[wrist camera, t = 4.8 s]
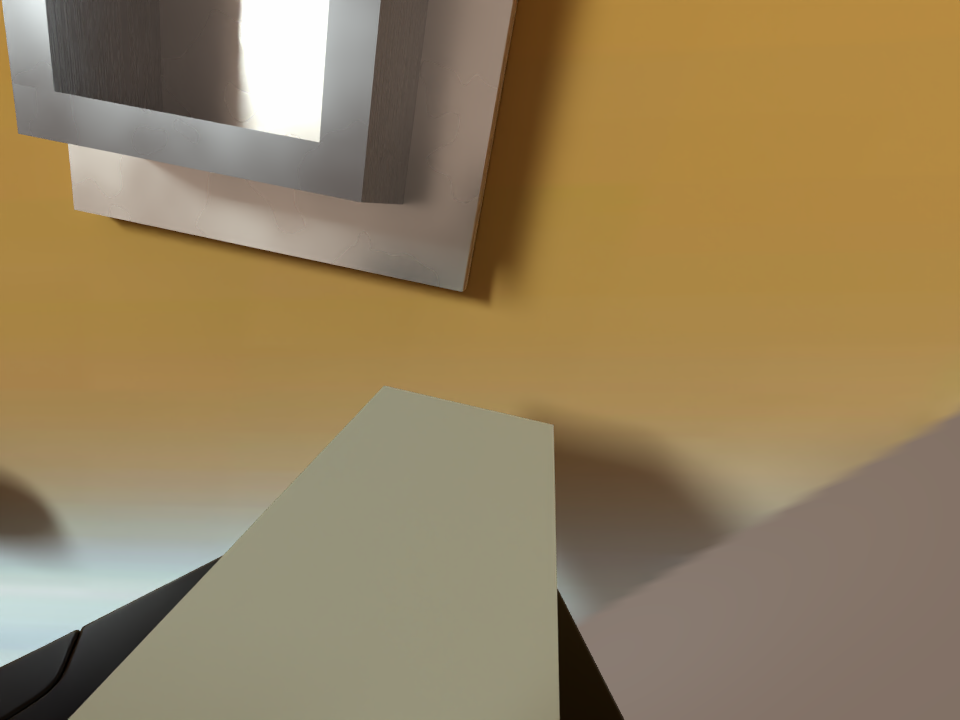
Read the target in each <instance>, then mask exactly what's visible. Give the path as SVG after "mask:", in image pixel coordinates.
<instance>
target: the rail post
mask: <svg viewBox="0 0 960 720" xmlns="http://www.w3.org/2000/svg"><path fill="white" fill-rule="evenodd" d="M68 720H560V713H559V663H558V614H557V565H556V516H555V467H554V425H552V424H548V423H543V422H539V421H535V420H530V419H526V418H522V417H517V416H513V415H509V414H505V413H500V412H496V411H492V410H487V409H483V408H479V407H474V406H470V405H466V404H461V403H457V402H453V401H448V400H444V399H440V398H436V397H431V396H427V395H423V394H418V393H414V392H410V391H405V390H401V389H397V388H392V387H388V386H383V387H382V388H381V389H380V391H379V392H378V393H377V394H376V395H375V396H374V397H373V398H372V399H371V400H370V401H369V402H368V403H367V404H366V405H365V406H364V407H363V408H362V410H361V411H360V412H359V413H358V414H357V415H356V416H355V417H354V418H353V419H352V420H351V421H350V422H349V423H348V424H347V425H346V426H345V427H344V429H343V430H342V431H341V432H340V433H339V434H338V435H337V436H336V437H335V438H334V439H333V440H332V441H331V442H330V443H329V444H328V445H327V446H326V448H325V449H324V450H323V451H322V452H321V453H320V454H319V455H318V456H317V457H316V458H315V459H314V460H313V461H312V462H311V463H310V464H309V465H308V467H307V468H306V469H305V470H304V471H303V472H302V473H301V474H300V475H299V476H298V477H297V478H296V479H295V480H294V481H293V482H292V483H291V484H290V486H289V487H288V488H287V489H286V490H285V491H284V492H283V493H282V494H281V495H280V496H279V497H278V498H277V499H276V500H275V501H274V502H273V504H272V505H271V506H270V507H269V508H268V509H267V510H266V511H265V512H264V513H263V514H262V515H261V516H260V517H259V518H258V519H257V520H256V521H255V523H254V524H253V525H252V526H251V527H250V528H249V529H248V530H247V531H246V532H245V533H244V534H243V535H242V536H241V537H240V538H239V539H238V540H237V542H236V543H235V544H234V545H233V546H232V547H231V548H230V549H229V550H228V551H227V552H226V553H225V554H224V555H223V556H222V557H221V558H220V559H219V561H218V562H217V563H216V564H215V565H214V566H213V567H212V568H211V569H210V570H209V571H208V572H207V573H206V574H205V575H204V576H203V577H202V578H201V580H200V581H199V582H198V583H197V584H196V585H195V586H194V587H193V588H192V589H191V590H190V591H189V592H188V593H187V594H186V595H185V596H184V597H183V599H182V600H181V601H180V602H179V603H178V604H177V605H176V606H175V607H174V608H173V609H172V610H171V611H170V612H169V613H168V614H167V615H166V616H165V618H164V619H163V620H162V621H161V622H160V623H159V624H158V625H157V626H156V627H155V628H154V629H153V630H152V631H151V632H150V633H149V634H148V635H147V637H146V638H145V639H144V640H143V641H142V642H141V643H140V644H139V645H138V646H137V647H136V648H135V649H134V650H133V651H132V652H131V653H130V655H129V656H128V657H127V658H126V659H125V660H124V661H123V662H122V663H121V664H120V665H119V666H118V667H117V668H116V669H115V670H114V671H113V672H112V674H111V675H110V676H109V677H108V678H107V679H106V680H105V681H104V682H103V683H102V684H101V685H100V686H99V687H98V688H97V689H96V690H95V691H94V693H93V694H92V695H91V696H90V697H89V698H88V699H87V700H86V701H85V702H84V703H83V704H82V705H81V706H80V707H79V708H78V709H77V710H76V712H75V713H74V714H73V715H72V716H71V717H70V718H69V719H68Z"/></svg>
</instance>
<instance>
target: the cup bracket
mask: <svg viewBox="0 0 960 720" xmlns="http://www.w3.org/2000/svg"><path fill="white" fill-rule="evenodd" d="M517 3H518V0H2V5H3V13H4V21H5V29H6V37H7V45H8V53H9V61H10V69H11V77H12V85H13V94H14V102H15V110H16V118H17V126H18V134H23V135H28V136H33V137H38V138H43V139H48V140H53V141H58V142H63V143H68V147H69V157H70V168H71V179H72V190H73V201H74V209H75V210H79V211H84V212H89V213H93V214H98V215H103V216H108V217H112V218H117V219H122V220H126V221H131V222H136V223H140V224H145V225H150V226H155V227H159V228H164V229H169V230H173V231H178V232H183V233H188V234H192V235H197V236H202V237H206V238H211V239H216V240H220V241H225V242H230V243H235V244H239V245H244V246H249V247H253V248H258V249H263V250H268V251H272V252H277V253H282V254H286V255H291V256H296V257H300V258H305V259H310V260H315V261H319V262H324V263H329V264H333V265H338V266H343V267H348V268H352V269H357V270H362V271H366V272H371V273H376V274H380V275H385V276H390V277H395V278H399V279H404V280H409V281H413V282H418V283H423V284H428V285H432V286H437V287H442V288H446V289H451V290H456V291H460V292H463V291H464V290H465V289H466V288H467V285H468V279H469V274H470V268H471V262H472V257H473V251H474V245H475V240H476V234H477V229H478V223H479V217H480V212H481V206H482V200H483V195H484V189H485V183H486V178H487V172H488V167H489V161H490V155H491V150H492V144H493V138H494V133H495V127H496V121H497V116H498V110H499V105H500V99H501V93H502V88H503V82H504V76H505V71H506V65H507V59H508V54H509V48H510V43H511V37H512V31H513V26H514V20H515V14H516V9H517Z"/></svg>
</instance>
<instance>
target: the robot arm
mask: <svg viewBox="0 0 960 720" xmlns="http://www.w3.org/2000/svg"><path fill="white" fill-rule="evenodd" d="M221 557H222V556H221ZM221 557H219V558H217V559H215V560H213V561H211V562H209V563H207V564H205V565H204V566H202V567H200V568H198V569H196V570H194V571H192V572H190V573H188V574H186V575H184V576H182V577H180V578H178V579H176V580H174V581H172V582H170V583H168V584H166V585H164V586H162V587H160V588H158V589H156V590H154V591H152V592H150V593H148V594H146V595H144V596H142V597H140V598H138V599H136V600H134V601H132V602H131V603H129V604H127V605H125V606H123V607H121V608H119V609H117V610H115V611H113V612H111V613H109V614H107V615H105V616H103V617H101V618H99V619H97V620H95V621H93V622H91V623H89V624H87V625H85V626H84V627H83V628H82V629H81V631H79V630H75V631H73V632H71V633H69V634H67V635H65V636H63V637H61V638H59V639H57V640H55V641H53V642H51V643H49V644H47V645H45V646H43V647H41V648H39V649H37V650H35V651H33V652H31V653H29V654H27V655H25V656H23V657H21V658H19V659H16V660H14V661H12V662H10V663H8V664H6V665H4V666H2V667H0V720H68V719H69V718H70V717H71V716H72V715H73V714H74V713H75V712H76V710H77V709H78V708H79V707H80V706H81V705H82V704H83V703H84V702H85V701H86V700H87V699H88V698H89V697H90V696H91V695H92V694H93V693H94V691H95V690H96V689H97V688H98V687H99V686H100V685H101V684H102V683H103V682H104V681H105V680H106V679H107V678H108V677H109V676H110V675H111V674H112V672H113V671H114V670H115V669H116V668H117V667H118V666H119V665H120V664H121V663H122V662H123V661H124V660H125V659H126V658H127V657H128V656H129V655H130V653H131V652H132V651H133V650H134V649H135V648H136V647H137V646H138V645H139V644H140V643H141V642H142V641H143V640H144V639H145V638H146V637H147V635H148V634H149V633H150V632H151V631H152V630H153V629H154V628H155V627H156V626H157V625H158V624H159V623H160V622H161V621H162V620H163V619H164V618H165V616H166V615H167V614H168V613H169V612H170V611H171V610H172V609H173V608H174V607H175V606H176V605H177V604H178V603H179V602H180V601H181V600H182V599H183V597H184V596H185V595H186V594H187V593H188V592H189V591H190V590H191V589H192V588H193V587H194V586H195V585H196V584H197V583H198V582H199V581H200V580H201V578H202V577H203V576H204V575H205V574H206V573H207V572H208V571H209V570H210V569H211V568H212V567H213V566H214V565H215V564H216V563H217V562H218V561H219V559H220V558H221ZM557 614H558V663H559V713H560V720H624V718H623V716H622V714H621V712H620V710H619V709H618V706H617V704H616V703H615V701H614V699H613V697H612V695H611V693H610V691H609V689H608V687H607V685H606V683H605V681H604V679H603V677H602V675H601V673H600V671H599V669H598V667H597V665H596V663H595V661H594V659H593V657H592V655H591V653H590V651H589V649H588V647H587V646H586V644H585V642H584V640H583V638H582V636H581V634H580V632H579V630H578V628H577V626H576V624H575V622H574V620H573V618H572V616H571V614H570V612H569V610H568V608H567V606H566V604H565V602H564V600H563V598H562V596H561V594H560V592H559V590H558V589H557Z"/></svg>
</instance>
